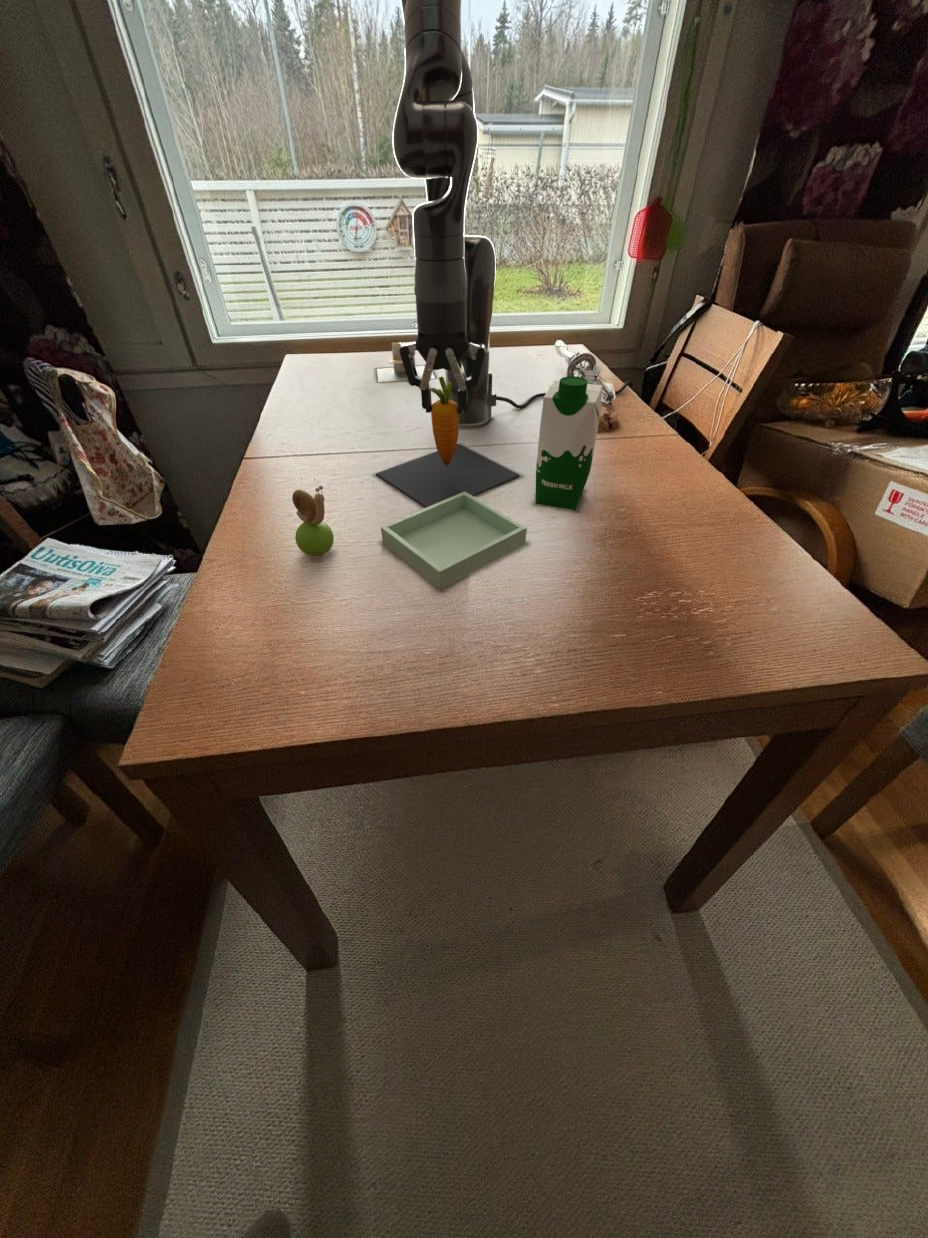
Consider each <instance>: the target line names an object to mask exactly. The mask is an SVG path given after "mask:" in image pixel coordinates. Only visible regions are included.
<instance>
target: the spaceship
mask: <svg viewBox="0 0 928 1238" xmlns="http://www.w3.org/2000/svg"><path fill="white" fill-rule="evenodd" d="M554 349H555V352H556V353H557V354H558V355H559V357H561V358H564V360H565V362H566V365H567V367H566V377H568V376H575V375H577V376H576V377H581V378H584V379H586V380H587V382H588V383H587V384H593V385H602V394H601V403H604V404H606V405H610V406H612V405H613V404H612V401H614V400H616V399H617V398H616V395H615V391H616V390H615V387H614V385H613V383H611V382H606V380H605V379H604V378H603V377H602V376H601V375H600V373H601V371H602V369H603V368H602V367H600V365H599V364H598V363H597V360H596V357H595V356H594V355H593V354H591V353H589V352H583V353H580V352H579V351H578V350H575V352H571V351H569V348H568V345H567V344H566V343H565V342H564V341H563V340H562V339H561V340H560V339H558V340H556V341H555V343H554ZM586 364H588V365H586ZM602 380H603V381H604V382H603V381H602Z"/></svg>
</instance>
